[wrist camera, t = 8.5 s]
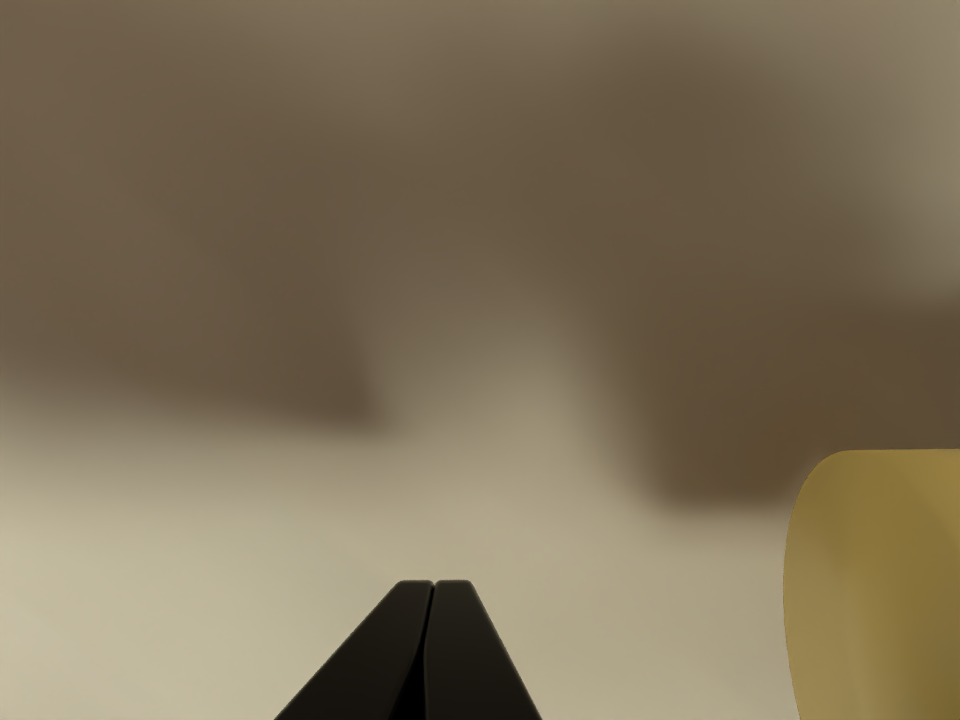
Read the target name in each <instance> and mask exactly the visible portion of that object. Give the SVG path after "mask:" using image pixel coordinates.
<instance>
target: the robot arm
mask: <svg viewBox="0 0 960 720" xmlns="http://www.w3.org/2000/svg"><path fill="white" fill-rule="evenodd" d="M274 720H542V718H541V716H540V714H539V712H538V710H537V708H536V706H535V704H534V702H533V700H532V699H531V697H530V695H529V693H528V691H527V689H526V687H525V685H524V683H523V681H522V679H521V677H520V675H519V673H518V671H517V670H516V668H515V666H514V664H513V662H512V660H511V658H510V656H509V654H508V652H507V650H506V648H505V646H504V644H503V642H502V640H501V639H500V637H499V635H498V633H497V631H496V629H495V627H494V625H493V623H492V621H491V619H490V617H489V615H488V613H487V611H486V610H485V608H484V606H483V604H482V602H481V600H480V598H479V596H478V594H477V592H476V590H475V588H474V586H473V585H472V583H471V582H470V581H468V580H440V581H438V582H437V583H436V584H435V586H434V584H433V582H432V581H430V580H403V581H400V582H398V583H397V584H396V585H395V586H394V587H393V588H392V589H391V590H390V591H389V592H388V593H387V595H386V596H385V597H384V598H383V599H382V600H381V601H380V602H379V603H378V605H377V606H376V607H375V608H374V609H373V610H372V611H371V612H370V613H369V614H368V616H367V617H366V618H365V619H364V620H363V621H362V622H361V623H360V624H359V626H358V627H357V628H356V629H355V630H354V631H353V632H352V633H351V634H350V636H349V637H348V638H347V639H346V640H345V641H344V642H343V643H342V644H341V646H340V647H339V648H338V649H337V650H336V651H335V652H334V653H333V654H332V656H331V657H330V658H329V659H328V660H327V661H326V662H325V663H324V664H323V666H322V667H321V668H320V669H319V670H318V671H317V672H316V673H315V674H314V676H313V677H312V678H311V679H310V680H309V681H308V682H307V683H306V684H305V686H304V687H303V688H302V689H301V690H300V691H299V692H298V693H297V694H296V695H295V697H294V698H293V699H292V700H291V701H290V702H289V703H288V704H287V705H286V707H285V708H284V709H283V710H282V711H281V712H280V713H279V714H278V715H277V717H276V718H275V719H274Z"/></svg>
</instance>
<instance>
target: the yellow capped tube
mask: <svg viewBox="0 0 960 720" xmlns="http://www.w3.org/2000/svg"><path fill="white" fill-rule="evenodd" d="M783 603H784V622H785V633H786V643H787V651H788V658H789V665H790V672H791V677H792V682H793V688H794V693H795V698H796V702H797V706H798V711H799V715H800V720H960V449H907V450H846V451H841V452H837V453H834V454H832V455H830V456H828V457H826V458H824V459H823V460H822V461H821V462H820V463H819V464H818V465H817V466H815V467H814V469H813V470H812V471H811V473H810V474H809V475H808V477H807V478H806V480H805V482H804V484H803V486H802V488H801V490H800V492H799V494H798V497H797V500H796V502H795V505H794V508H793V512H792V516H791V519H790V524H789V529H788V535H787V540H786V549H785V558H784V576H783Z"/></svg>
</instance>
